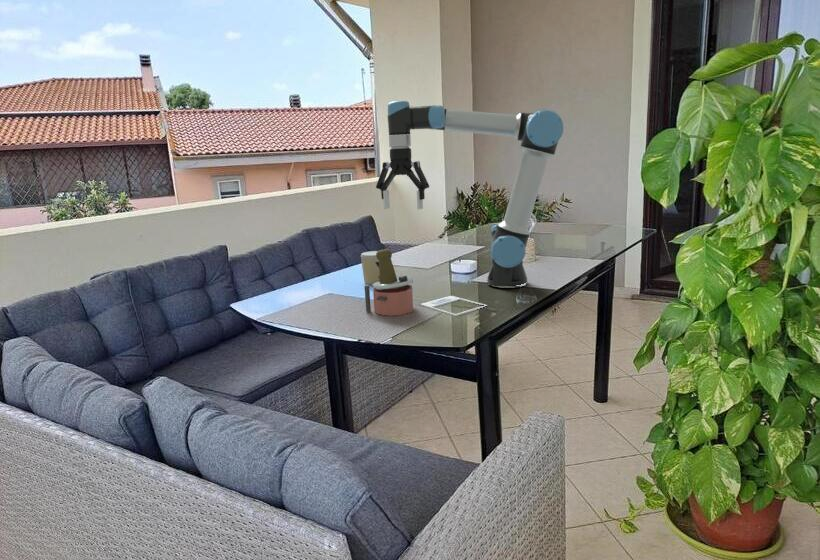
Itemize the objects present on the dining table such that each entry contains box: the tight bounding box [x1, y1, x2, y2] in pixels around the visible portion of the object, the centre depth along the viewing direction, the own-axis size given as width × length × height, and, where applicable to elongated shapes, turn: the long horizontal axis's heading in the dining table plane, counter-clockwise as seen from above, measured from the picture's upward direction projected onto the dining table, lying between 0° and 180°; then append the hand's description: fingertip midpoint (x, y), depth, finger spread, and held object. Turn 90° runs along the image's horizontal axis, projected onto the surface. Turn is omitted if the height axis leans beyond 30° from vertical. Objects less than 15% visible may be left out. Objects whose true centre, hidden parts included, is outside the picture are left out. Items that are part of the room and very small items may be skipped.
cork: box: [376, 248, 397, 284], centre depth 191 cm, size 6×6×11 cm
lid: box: [372, 275, 414, 290], centre depth 191 cm, size 14×14×2 cm
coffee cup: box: [360, 250, 380, 286], centre depth 231 cm, size 9×9×12 cm
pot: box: [364, 279, 414, 317], centre depth 193 cm, size 14×16×9 cm
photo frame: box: [419, 295, 488, 317], centre depth 195 cm, size 15×1×18 cm
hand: (403, 208), depth 204 cm, fingers open, 13 cm apart
